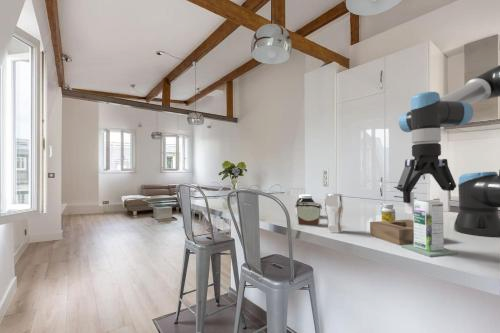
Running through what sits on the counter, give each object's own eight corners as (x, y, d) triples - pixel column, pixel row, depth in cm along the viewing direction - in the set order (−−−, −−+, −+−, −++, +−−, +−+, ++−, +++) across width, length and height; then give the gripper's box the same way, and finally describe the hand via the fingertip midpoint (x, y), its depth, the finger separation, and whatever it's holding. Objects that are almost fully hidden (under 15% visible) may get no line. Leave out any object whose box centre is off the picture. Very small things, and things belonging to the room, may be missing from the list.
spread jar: (297, 218, 139) (297, 195, 139) (293, 214, 150) (293, 194, 150) (320, 218, 139) (320, 195, 139) (315, 214, 150) (314, 193, 150)
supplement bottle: (398, 226, 117) (397, 204, 117) (389, 227, 115) (389, 205, 115) (387, 224, 122) (386, 203, 122) (379, 225, 120) (378, 203, 120)
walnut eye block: (409, 231, 106) (408, 219, 107) (442, 240, 93) (442, 226, 93) (370, 235, 102) (370, 222, 102) (399, 245, 88) (399, 230, 88)
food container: (326, 224, 122) (325, 202, 123) (321, 227, 117) (321, 204, 117) (300, 222, 129) (300, 201, 129) (295, 224, 124) (295, 202, 124)
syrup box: (412, 246, 85) (412, 200, 85) (427, 244, 86) (426, 199, 86) (429, 251, 79) (428, 202, 79) (444, 250, 81) (443, 201, 81)
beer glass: (344, 233, 105) (344, 195, 105) (326, 232, 107) (325, 195, 107) (342, 229, 112) (341, 193, 112) (325, 229, 114) (324, 193, 114)
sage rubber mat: (426, 244, 89) (426, 242, 89) (456, 253, 79) (456, 251, 79) (401, 247, 86) (401, 245, 86) (429, 256, 77) (429, 254, 77)
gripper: (446, 144, 90) (447, 208, 90) (382, 144, 84) (384, 212, 83) (469, 142, 83) (471, 211, 82) (402, 142, 76) (404, 217, 76)
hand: (427, 212), depth 83 cm, fingers open, 13 cm apart
